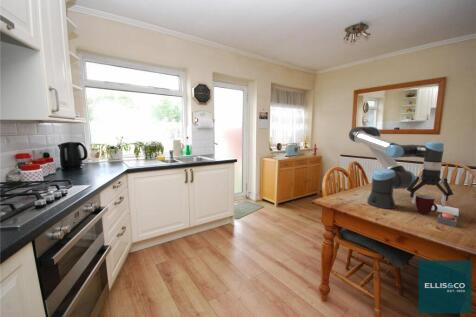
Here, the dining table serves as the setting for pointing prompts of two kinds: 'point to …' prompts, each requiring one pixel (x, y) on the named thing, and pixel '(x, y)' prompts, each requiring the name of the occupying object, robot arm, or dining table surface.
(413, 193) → the robot arm
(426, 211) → the mug
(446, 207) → the paper
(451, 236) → the dining table surface
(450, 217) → the button
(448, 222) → the button housing
